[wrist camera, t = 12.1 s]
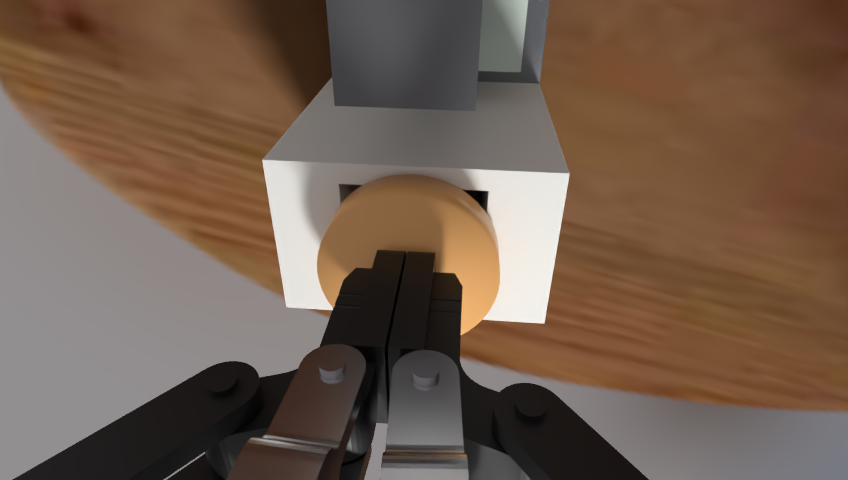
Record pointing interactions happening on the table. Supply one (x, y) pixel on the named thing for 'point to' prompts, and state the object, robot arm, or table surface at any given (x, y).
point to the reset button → (414, 237)
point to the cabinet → (435, 157)
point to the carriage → (421, 50)
